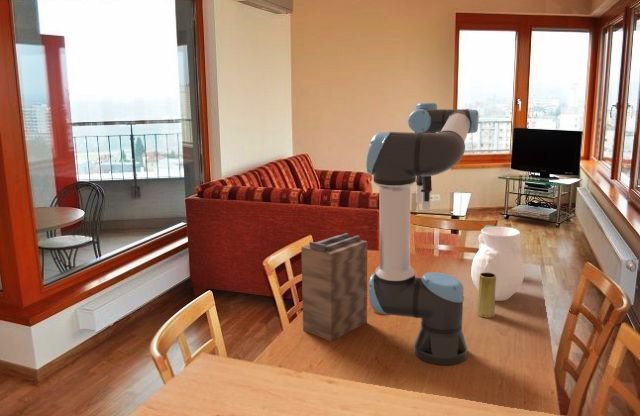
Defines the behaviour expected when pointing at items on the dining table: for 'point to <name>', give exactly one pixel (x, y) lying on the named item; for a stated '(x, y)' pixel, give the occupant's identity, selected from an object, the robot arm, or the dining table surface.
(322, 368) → the dining table surface
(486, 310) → the vase
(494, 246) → the pitcher
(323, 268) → the stand
